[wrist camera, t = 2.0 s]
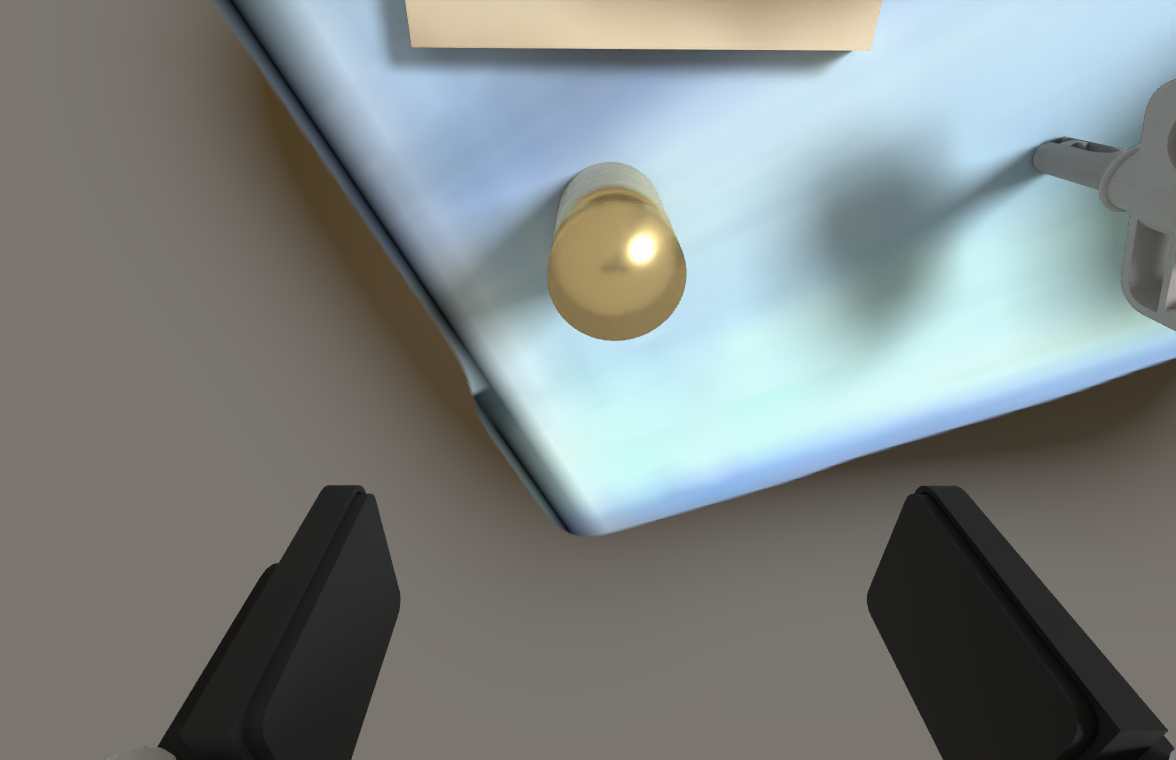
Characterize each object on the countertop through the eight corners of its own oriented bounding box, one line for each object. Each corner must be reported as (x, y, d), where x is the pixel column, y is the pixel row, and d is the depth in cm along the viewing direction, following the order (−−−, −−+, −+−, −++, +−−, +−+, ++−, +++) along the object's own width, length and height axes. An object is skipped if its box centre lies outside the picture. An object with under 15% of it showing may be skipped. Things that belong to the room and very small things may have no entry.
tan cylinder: (556, 161, 25) (544, 208, 19) (665, 162, 25) (693, 209, 19) (559, 266, 28) (549, 340, 21) (657, 266, 28) (679, 340, 21)
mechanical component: (1012, 265, 28) (1196, 366, 20) (1020, 43, 23) (1274, 49, 14) (1076, 245, 27) (1294, 340, 19) (1099, 13, 22) (1412, 1, 14)
